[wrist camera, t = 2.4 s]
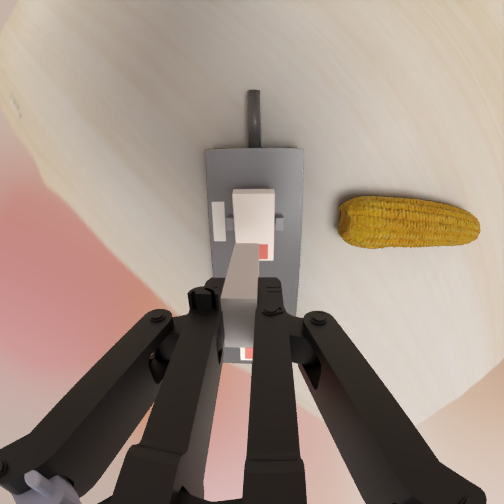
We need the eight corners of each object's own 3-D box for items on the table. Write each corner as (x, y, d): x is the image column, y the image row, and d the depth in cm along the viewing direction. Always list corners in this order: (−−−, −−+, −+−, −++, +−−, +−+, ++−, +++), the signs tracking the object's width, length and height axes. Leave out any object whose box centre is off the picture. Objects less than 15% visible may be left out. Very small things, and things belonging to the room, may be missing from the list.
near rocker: (231, 189, 23) (230, 194, 22) (276, 188, 23) (276, 194, 22) (236, 254, 27) (235, 261, 26) (274, 254, 27) (275, 261, 26)
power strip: (211, 95, 25) (201, 87, 20) (297, 94, 25) (304, 84, 20) (226, 343, 37) (221, 367, 33) (289, 343, 37) (291, 368, 32)
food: (332, 237, 31) (346, 258, 25) (335, 189, 29) (351, 201, 23) (464, 237, 30) (489, 254, 24) (471, 199, 28) (497, 211, 22)
